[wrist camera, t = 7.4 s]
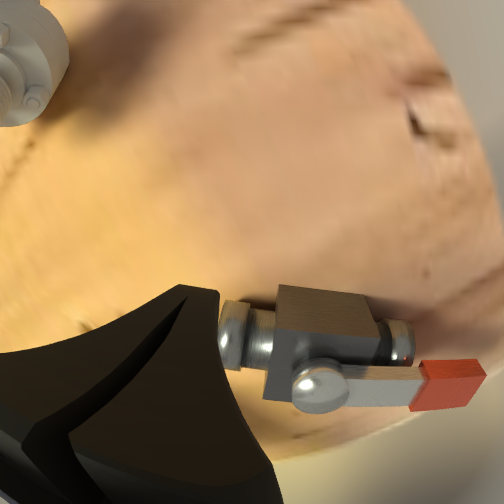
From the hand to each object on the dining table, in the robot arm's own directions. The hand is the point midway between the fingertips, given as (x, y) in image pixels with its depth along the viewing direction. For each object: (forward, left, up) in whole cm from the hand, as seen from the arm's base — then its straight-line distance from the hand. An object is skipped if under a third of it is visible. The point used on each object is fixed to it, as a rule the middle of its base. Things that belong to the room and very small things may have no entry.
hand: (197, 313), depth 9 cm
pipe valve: (-7, -6, -10) cm, 14 cm away
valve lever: (-7, -11, -5) cm, 14 cm away
